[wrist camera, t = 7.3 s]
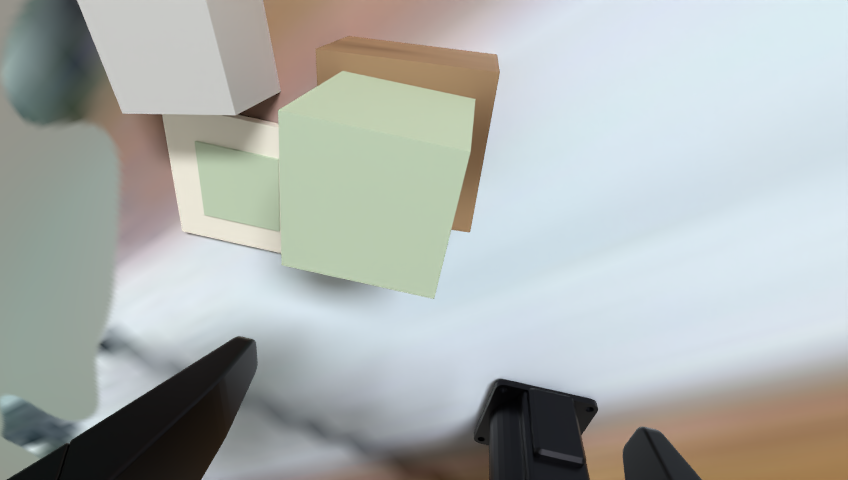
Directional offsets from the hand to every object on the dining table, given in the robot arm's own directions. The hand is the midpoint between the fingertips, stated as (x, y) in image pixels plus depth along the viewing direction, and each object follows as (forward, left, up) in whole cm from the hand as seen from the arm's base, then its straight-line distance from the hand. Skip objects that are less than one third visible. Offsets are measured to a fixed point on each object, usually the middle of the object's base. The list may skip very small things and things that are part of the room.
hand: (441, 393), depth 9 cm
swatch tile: (-2, +11, -12) cm, 16 cm away
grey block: (+4, +12, -12) cm, 17 cm away
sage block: (+3, +3, -8) cm, 9 cm away
